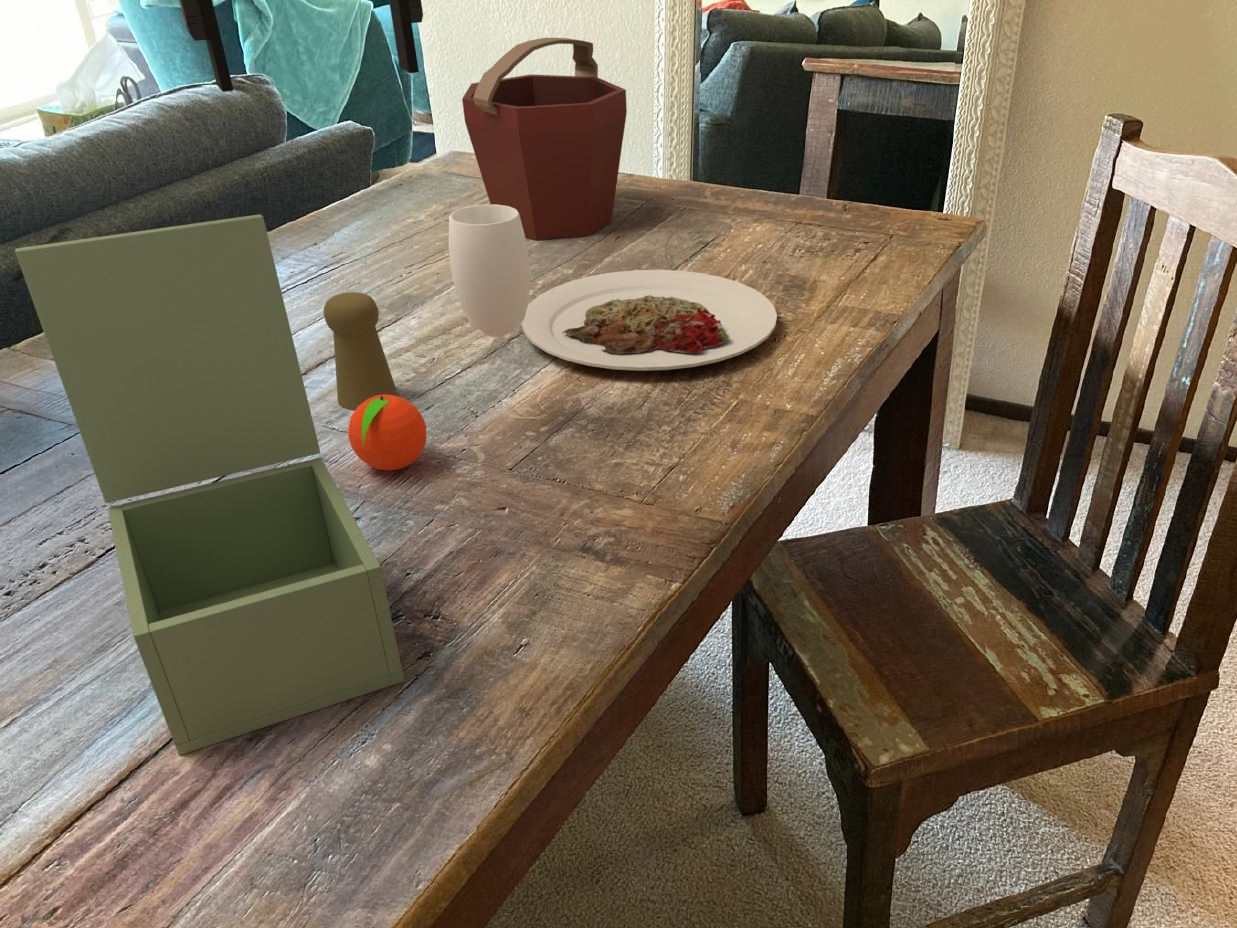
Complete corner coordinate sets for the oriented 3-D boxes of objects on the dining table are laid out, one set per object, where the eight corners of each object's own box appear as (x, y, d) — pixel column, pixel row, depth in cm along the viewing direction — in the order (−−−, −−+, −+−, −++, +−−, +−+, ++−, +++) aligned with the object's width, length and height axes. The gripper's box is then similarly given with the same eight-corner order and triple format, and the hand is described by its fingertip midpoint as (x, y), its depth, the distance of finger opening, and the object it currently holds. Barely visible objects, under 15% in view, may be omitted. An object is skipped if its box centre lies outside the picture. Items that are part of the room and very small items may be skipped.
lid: (263, 216, 74) (260, 214, 75) (14, 251, 68) (14, 248, 69) (320, 453, 83) (318, 449, 84) (105, 503, 77) (104, 499, 77)
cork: (375, 414, 111) (354, 311, 105) (325, 404, 113) (302, 303, 107) (409, 390, 116) (391, 290, 110) (361, 381, 118) (341, 282, 111)
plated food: (570, 275, 145) (568, 250, 143) (794, 294, 140) (795, 268, 138) (482, 369, 120) (479, 340, 118) (750, 395, 115) (750, 366, 113)
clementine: (408, 493, 98) (395, 423, 94) (336, 486, 99) (321, 416, 95) (443, 451, 105) (432, 383, 101) (375, 444, 106) (362, 377, 102)
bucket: (580, 191, 177) (568, 21, 163) (667, 223, 163) (663, 41, 150) (446, 222, 163) (421, 40, 149) (530, 259, 150) (510, 63, 136)
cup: (545, 433, 108) (525, 225, 96) (470, 439, 107) (441, 228, 95) (544, 401, 114) (524, 201, 102) (473, 406, 113) (445, 204, 101)
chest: (404, 681, 77) (380, 566, 72) (178, 755, 71) (133, 636, 65) (345, 563, 89) (320, 457, 84) (147, 618, 83) (107, 507, 77)
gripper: (36, -282, 63) (146, 106, 75) (456, -269, 73) (494, 71, 85) (31, -274, 68) (135, 87, 80) (423, -263, 79) (463, 55, 91)
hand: (320, 79), depth 83 cm, fingers open, 13 cm apart
